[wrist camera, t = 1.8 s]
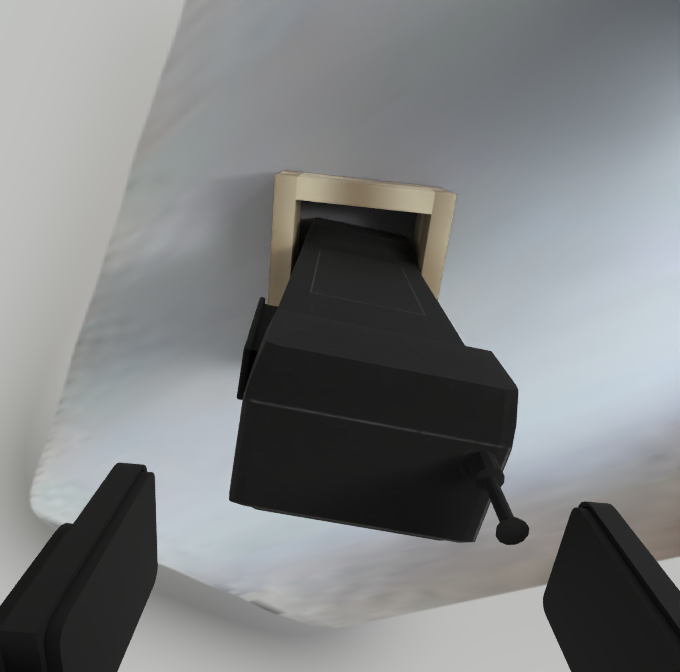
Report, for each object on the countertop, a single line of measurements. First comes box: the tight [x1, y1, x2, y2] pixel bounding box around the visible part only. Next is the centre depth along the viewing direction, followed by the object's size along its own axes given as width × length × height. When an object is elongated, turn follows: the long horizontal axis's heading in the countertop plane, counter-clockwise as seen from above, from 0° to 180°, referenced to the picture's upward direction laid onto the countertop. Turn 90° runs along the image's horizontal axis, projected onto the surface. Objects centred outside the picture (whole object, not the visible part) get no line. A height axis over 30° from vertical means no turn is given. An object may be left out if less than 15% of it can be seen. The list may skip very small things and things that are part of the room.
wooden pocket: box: [268, 170, 457, 306], centre depth 31 cm, size 10×12×5 cm
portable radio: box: [229, 218, 529, 545], centre depth 22 cm, size 8×6×25 cm
